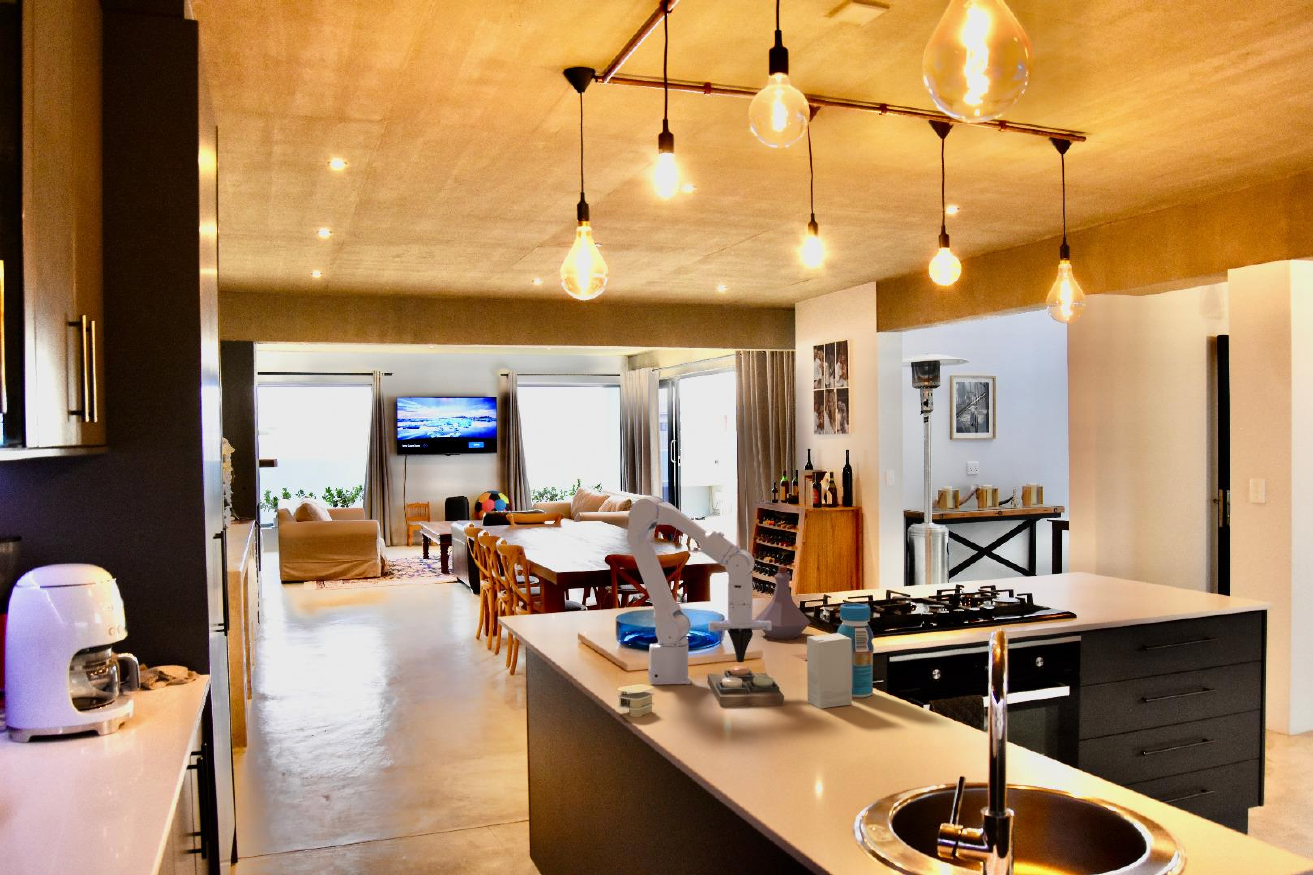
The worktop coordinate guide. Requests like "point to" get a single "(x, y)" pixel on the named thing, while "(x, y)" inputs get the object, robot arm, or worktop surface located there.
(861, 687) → the beverage bottle
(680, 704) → the worktop surface
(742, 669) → the terracotta button
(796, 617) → the flask
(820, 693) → the skincare box
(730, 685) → the cream button
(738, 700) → the button board
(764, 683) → the sage button
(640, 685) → the beige layered block
